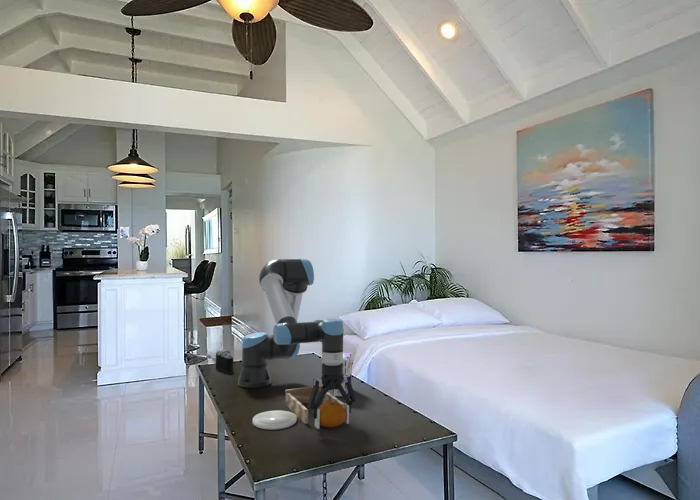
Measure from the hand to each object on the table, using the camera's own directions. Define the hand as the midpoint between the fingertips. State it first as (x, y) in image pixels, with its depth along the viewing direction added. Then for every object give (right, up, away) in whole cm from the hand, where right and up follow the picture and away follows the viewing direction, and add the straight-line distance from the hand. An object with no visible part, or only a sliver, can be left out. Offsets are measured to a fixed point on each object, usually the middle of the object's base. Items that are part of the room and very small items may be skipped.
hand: (331, 424), depth 163 cm
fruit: (0, -1, +1) cm, 1 cm away
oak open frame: (-8, -1, +16) cm, 18 cm away
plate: (-21, 0, +5) cm, 22 cm away
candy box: (+3, -1, +40) cm, 40 cm away
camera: (-59, -1, +80) cm, 99 cm away
